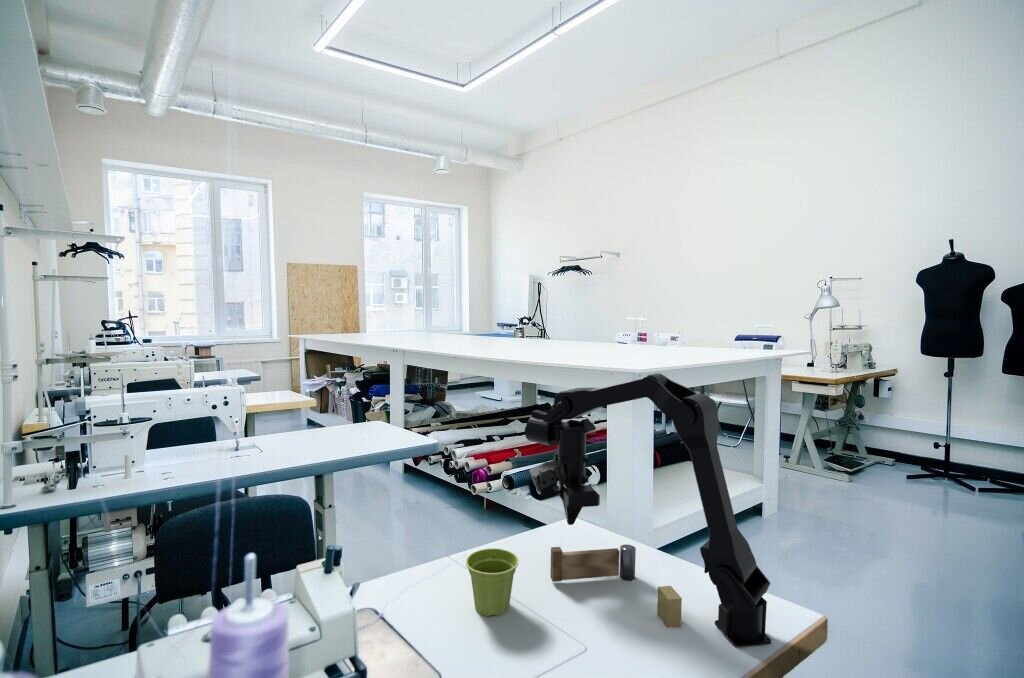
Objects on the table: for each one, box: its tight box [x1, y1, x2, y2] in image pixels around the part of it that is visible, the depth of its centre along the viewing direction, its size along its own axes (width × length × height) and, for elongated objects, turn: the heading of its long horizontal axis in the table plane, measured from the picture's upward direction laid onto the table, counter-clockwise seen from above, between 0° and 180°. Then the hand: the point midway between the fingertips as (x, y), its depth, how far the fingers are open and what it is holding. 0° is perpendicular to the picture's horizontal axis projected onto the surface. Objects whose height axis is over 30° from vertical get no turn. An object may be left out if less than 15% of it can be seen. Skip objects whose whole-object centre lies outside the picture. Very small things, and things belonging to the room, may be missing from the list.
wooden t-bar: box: [549, 546, 620, 583], centre depth 104 cm, size 14×2×6 cm, turn 100°
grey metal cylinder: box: [619, 544, 637, 582], centre depth 105 cm, size 3×3×6 cm
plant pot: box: [465, 547, 520, 617], centre depth 94 cm, size 9×9×9 cm
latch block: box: [656, 585, 683, 629], centre depth 91 cm, size 2×4×5 cm, turn 10°
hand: (570, 524), depth 110 cm, fingers closed
